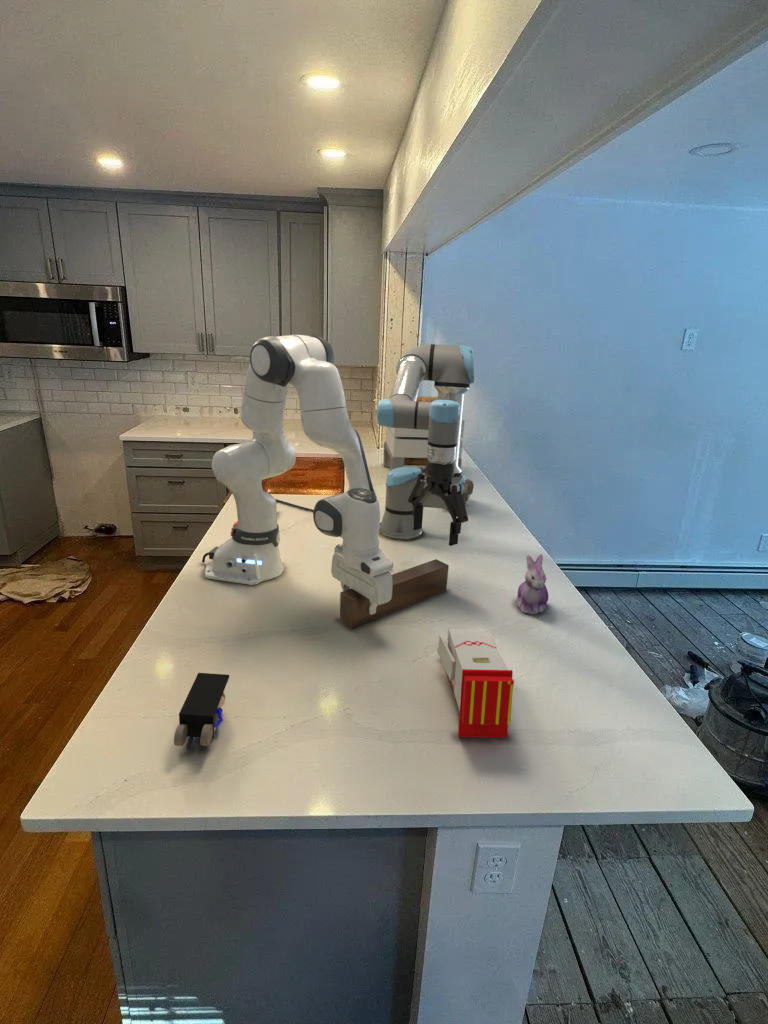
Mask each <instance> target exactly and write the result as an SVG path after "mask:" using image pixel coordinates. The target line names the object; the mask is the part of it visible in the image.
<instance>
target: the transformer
mask: <svg viewBox="0 0 768 1024" xmlns="http://www.w3.org/2000/svg"><path fill="white" fill-rule="evenodd" d="M435 400H438V396H418V395H417V399H416V401H420V402H433V401H435ZM464 429H465V419H464V418H462V425H461V436H460V447H459V458H458V467H459V468H460V469H461V470H462V461H463V460H462V453H463V442H464V441H463V440H462V439H463V438H464V431H465V430H464ZM428 432H429V430H421V429H407V428H390V427H385V438H384V442H383V466H384V467H388V468H389V472H390V471H391V470H393V469H396V468H400V467H405V466H406V467H417V466H418V467H426V462H427V461H428V459H427V446H428Z"/></svg>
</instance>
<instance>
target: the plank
mask: <svg viewBox="0 0 768 1024" xmlns="http://www.w3.org/2000/svg"><path fill="white" fill-rule="evenodd" d="M449 568H450V564H447V563H445V562H443V561H441V560H440V559H437V558H435V559H431V560H429V561H427V562H424V563H421V564H417V565H414V566H412V567H410V568H409V567H408V568H406V569H403V570H401V571H398V572H395V573H391V575H392V598H391V600H390V601H389V602H387V603H384V604H382V605H377V607H376V613H375V614H372V615H371V614H369V613H368V612H367V606H370V605H371V603H370V599H368V598H367V597H365V596H363V595H362V594H360V593H358V592H357V591H355V590H353V589H352V588H350V589H348V590H345V591H343V590H342V591H340V593H339V621H340V622H341V623H343V624H344V625H346V626H347V627H348V628H350V629H351V630H352V629H354V628H356V627H360V626H362V625H364V624H367V623H369V622H373V621H374V620H377V619H380V618H382V617H385V616H387V615H390V614H392V613H395V612H396V611H399V610H402V609H404V608H407V607H409V606H412V605H414V604H417V603H419V602H422V601H424V600H427V599H429V598H432V597H434V596H437V595H439V594H441V593H444V592H447V590H448V578H449Z"/></svg>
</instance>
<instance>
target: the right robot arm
mask: <svg viewBox="0 0 768 1024" xmlns="http://www.w3.org/2000/svg"><path fill="white" fill-rule="evenodd" d="M474 354H475V353H474V349H473V348H472V347H471V346H467V345H460V344H440V343H439V344H438V343H437V344H436V343H435V344H434V343H423V344H419V345H415V346H413V347H411V348H410V349H408V350H407V351H405V353H403V355H401V357H400V358H399V359H398V361H397V364H396V367H395V372H396V377H395V379H394V383H393V386H392V389H391V393H390V395H389V398H382V399H379V401H378V403H377V411H376V420H377V424H378V425H379V426H380V427H384V428H386V427H390V428H407V429H421V430H429V432H428V446H427V459H428V461H427V462H426V466H425V471H424V472H422V469H421V468H420V467H419V466H418V467H417V466H404V467H400V468H396V469H393V470H391V471H390V470H389V471H388V473H387V475H386V482H385V487H386V488H385V504H384V505H385V507H384V508H385V509H384V513H383V515H382V519H381V521H380V529H379V532H378V533H379V534H380V535H381V536H382V537H385V538H387V539H389V540H395V541H410V540H415V539H418V538H420V537H421V536H422V535H423V518H424V508H432V509H443V510H445V509H448V511H447V512H448V513H449V515H450V517H451V520H452V521H450V525H449V535H448V536H449V537H448V546H450V547H452V546H455V545H458V543H459V535H460V534H461V532H462V524H463V523H466V522H468V521H469V515H468V511H467V508H466V504H464V500H463V496H462V494H463V489H464V484H465V480H466V477H465V475H463V474H462V472H463V470H462V468H461V469H460V468H459V467H458V458H459V447H460V439H461V438H460V436H461V425H462V419H463V414H464V413H463V412H464V402H465V401H464V400H465V393H467V392H468V391H469V390H470V388H471V384H474V383H475V355H474ZM422 381H428V382H429V381H430V382H434V383H433V387H434V389H435V391H437V397H438V400H435V401H433V402H420V401H416V399H417V396H418V394H419V390H420V386H421V382H422ZM275 500H276V502H278V503H281V504H284V505H287V506H291V507H294V508H298V509H302V510H305V511H309V512H313V511H314V508H313V509H312V508H308V507H305V506H301V505H297V504H293V503H290V502H287V501H283V500H280V499H276V498H275Z"/></svg>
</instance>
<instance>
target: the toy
mask: <svg viewBox="0 0 768 1024" xmlns="http://www.w3.org/2000/svg"><path fill="white" fill-rule="evenodd" d="M446 640H447V643H446V641H445V639H444V636H443V635H442V634H439V637H438V646H437V656H438V657H439V659H440V661H441V663H442V666H443V668H444V670H445V672H446V674H447V677H448V679H449V681H450V684H451V687H452V690H453V693H454V697H455V701H456V705H457V708H458V711H459V714H458V715H459V716H458V730H457V731H458V732H457V737H458V738H508V731H509V726H510V725H511V717H512V707H513V697H514V696H513V695H514V684H515V680H514V679H513V673H514V671H513V670H512V669H508V667H507V665H506V662H505V661H504V659H503V658H502V655H501V653H500V651H499V649H498V647H497V643H496V639H495V637H494V635H493V634H491V632H490V631H489V629H467V628H466V629H465V628H463V629H461V628H460V629H459V628H448V630H447V639H446Z"/></svg>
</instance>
